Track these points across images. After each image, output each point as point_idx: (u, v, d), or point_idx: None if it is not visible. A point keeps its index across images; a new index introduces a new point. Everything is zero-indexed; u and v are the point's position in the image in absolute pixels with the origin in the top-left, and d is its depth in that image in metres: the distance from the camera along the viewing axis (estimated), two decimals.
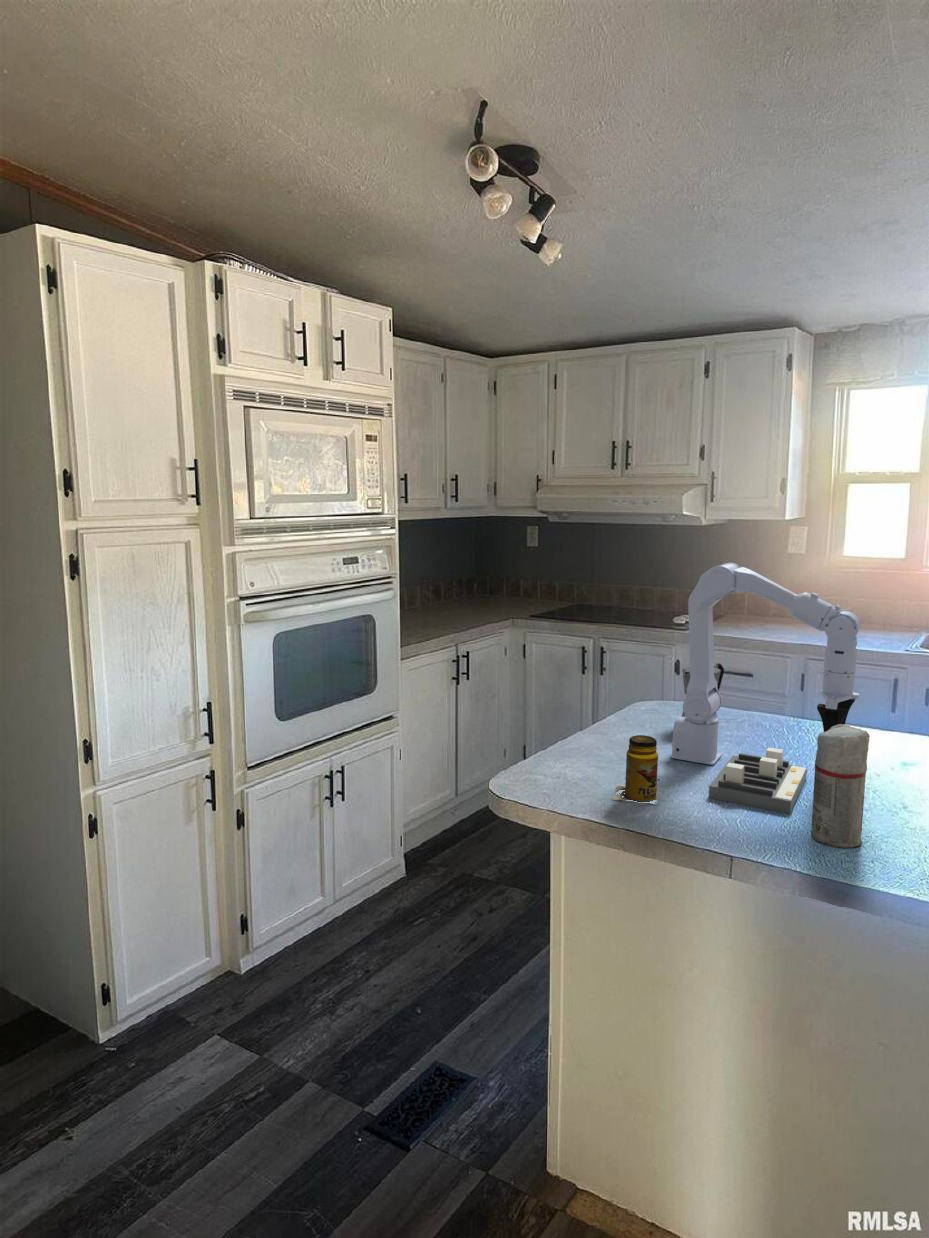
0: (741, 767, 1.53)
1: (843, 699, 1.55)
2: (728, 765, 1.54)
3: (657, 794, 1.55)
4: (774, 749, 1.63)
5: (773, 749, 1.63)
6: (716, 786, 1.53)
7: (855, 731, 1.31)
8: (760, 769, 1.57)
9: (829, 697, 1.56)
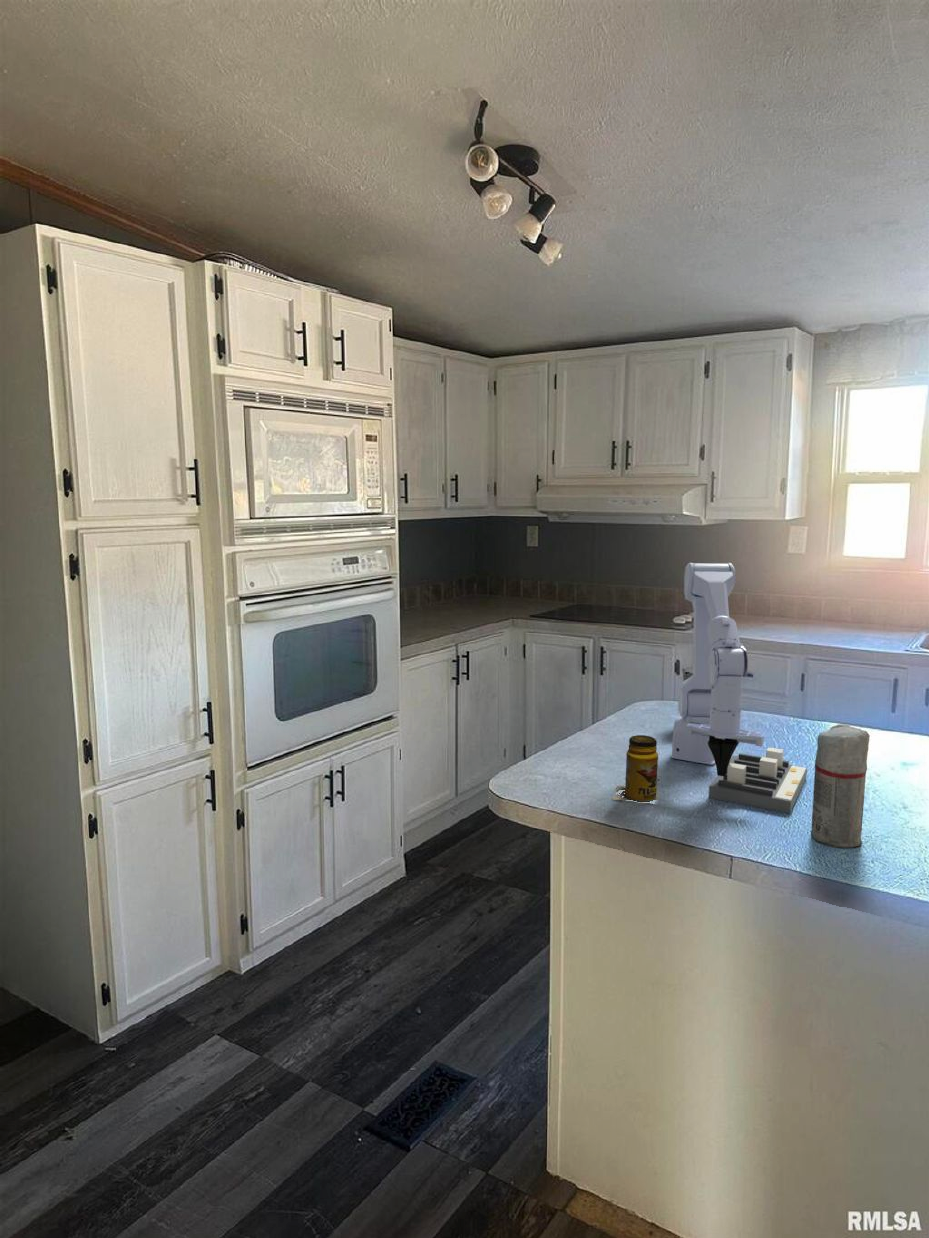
0: (743, 767, 1.53)
1: (700, 731, 1.55)
2: (730, 766, 1.53)
3: (657, 794, 1.55)
4: (774, 749, 1.63)
5: (773, 749, 1.63)
6: (716, 786, 1.53)
7: (855, 731, 1.31)
8: (760, 769, 1.57)
9: (700, 726, 1.57)
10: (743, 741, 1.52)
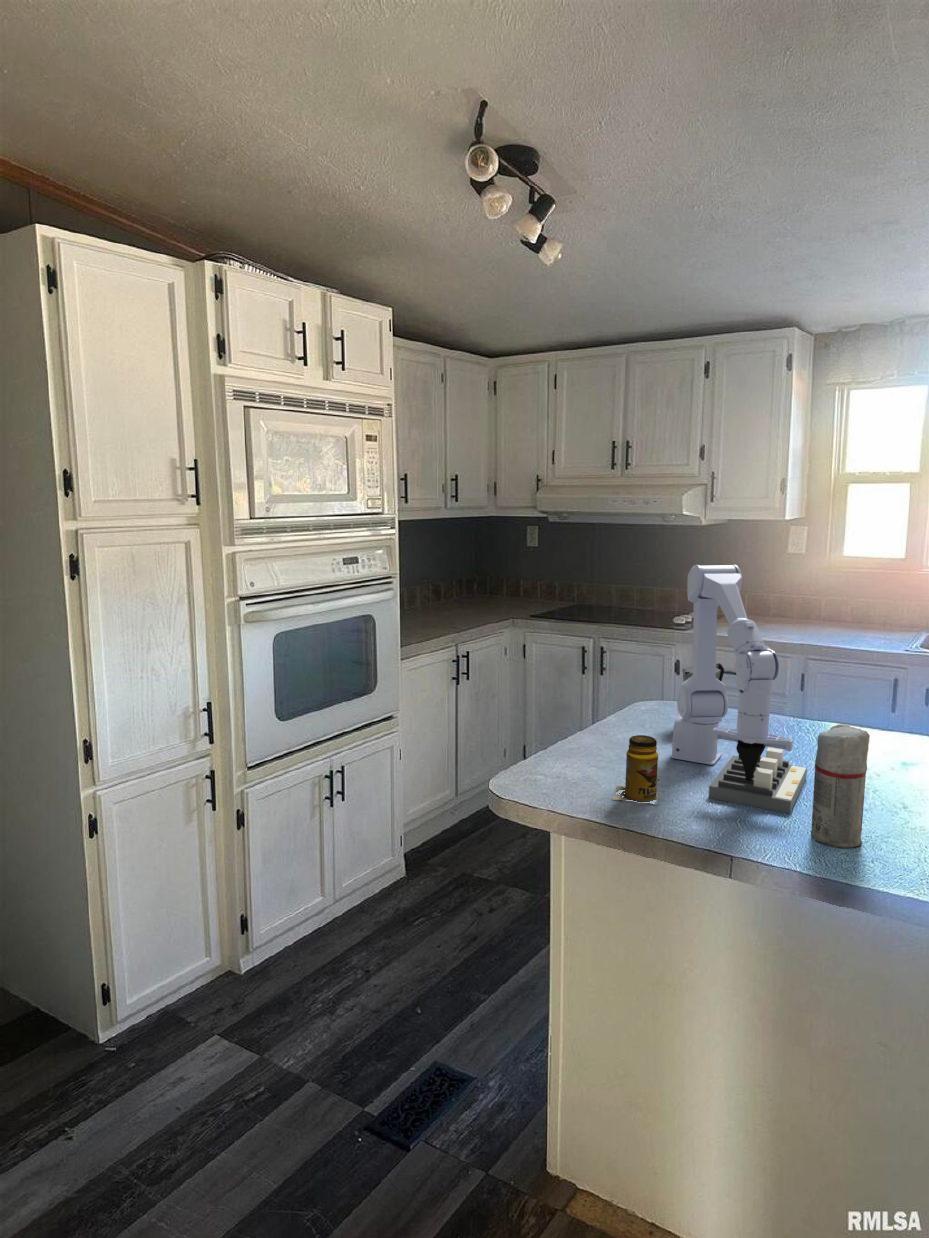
0: (770, 772, 1.50)
1: (728, 735, 1.52)
2: (756, 770, 1.51)
3: (657, 794, 1.55)
4: (774, 749, 1.63)
5: (773, 749, 1.63)
6: (716, 786, 1.53)
7: (855, 731, 1.31)
8: None
9: None
10: (772, 746, 1.49)
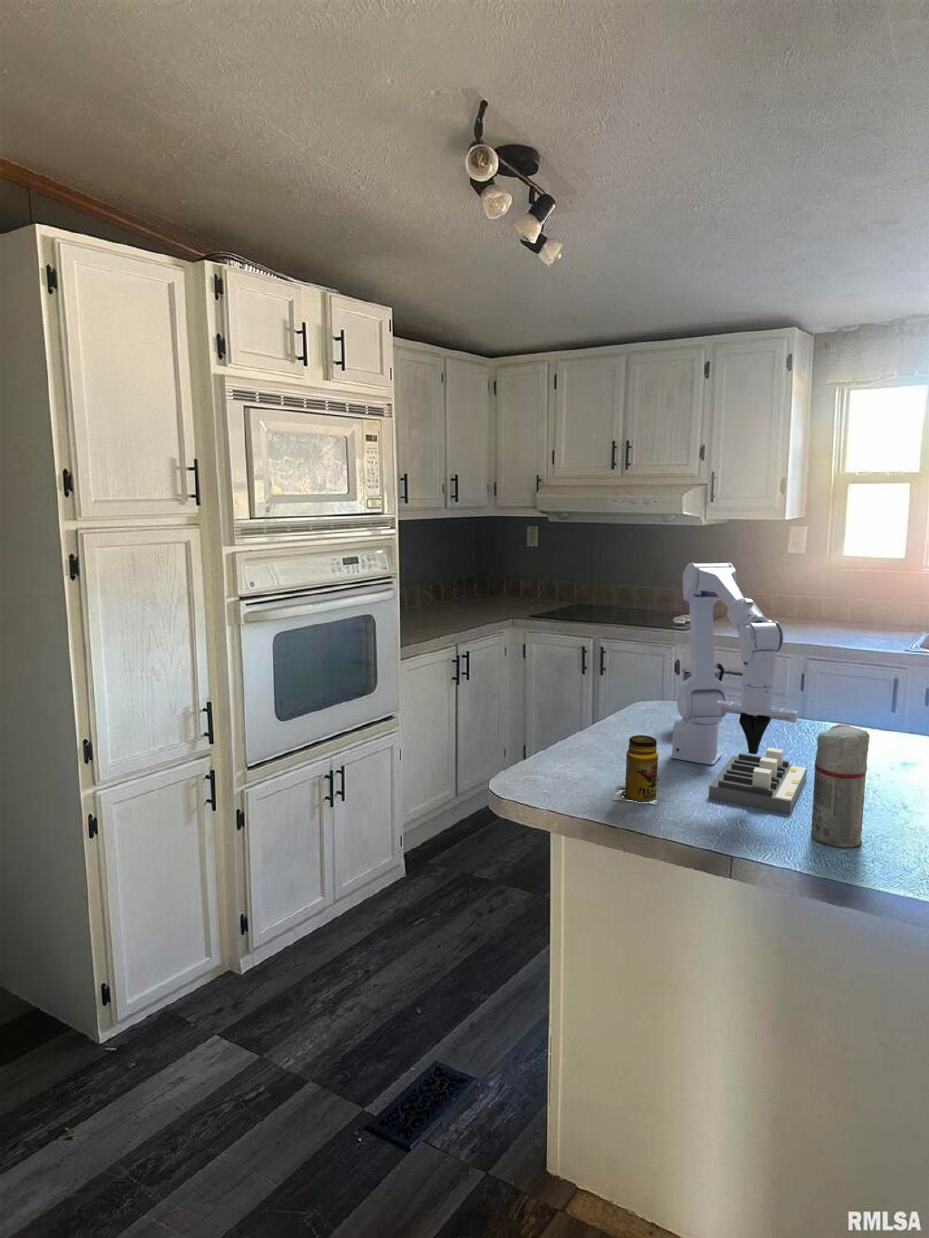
0: (768, 772, 1.50)
1: (731, 708, 1.51)
2: (755, 770, 1.51)
3: (657, 794, 1.55)
4: (774, 749, 1.63)
5: (773, 749, 1.63)
6: (716, 786, 1.53)
7: (855, 731, 1.31)
8: None
9: None
10: (776, 718, 1.48)
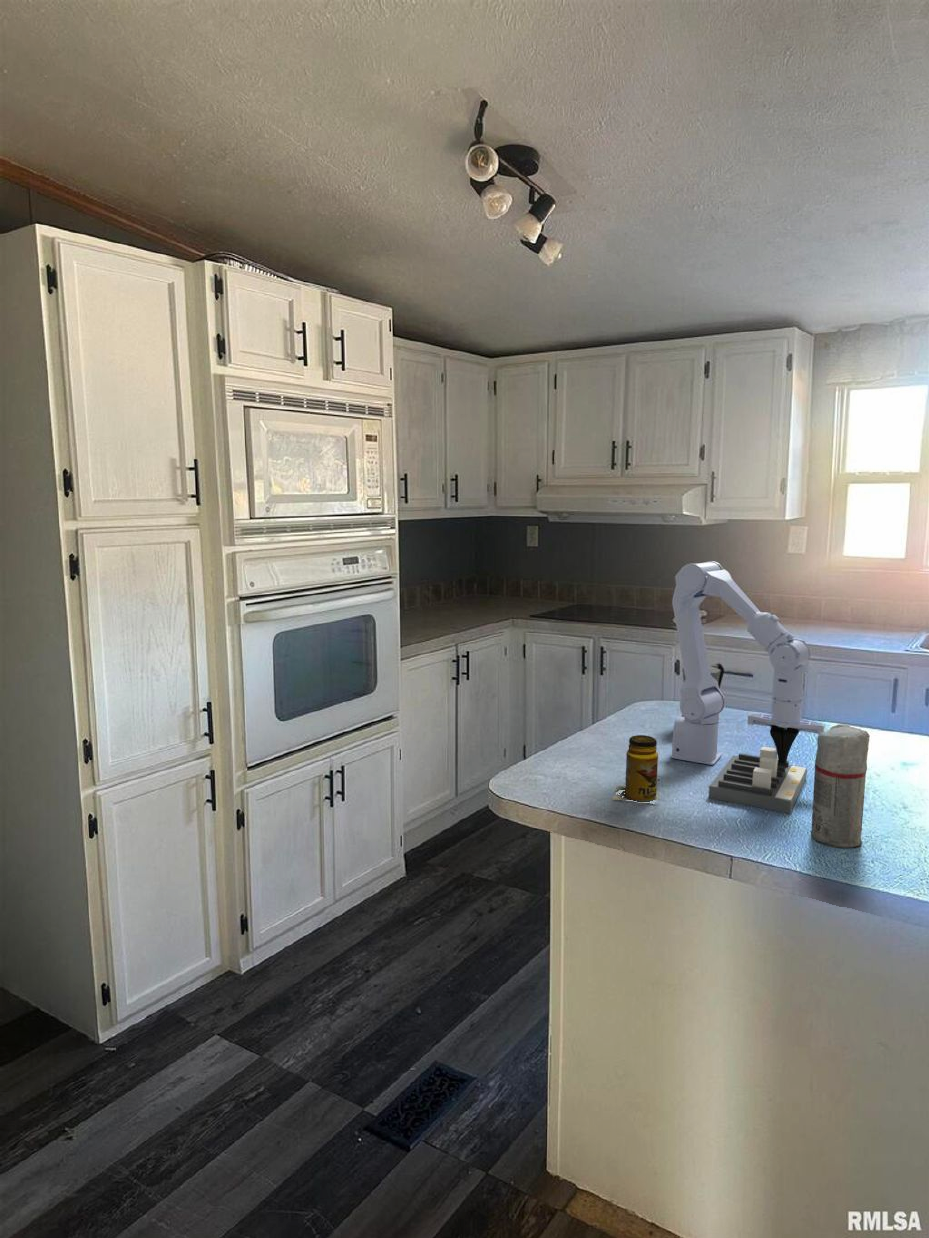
0: (768, 772, 1.50)
1: (762, 720, 1.62)
2: (755, 770, 1.51)
3: (657, 794, 1.55)
4: (768, 748, 1.64)
5: (767, 748, 1.64)
6: (716, 786, 1.53)
7: (855, 731, 1.31)
8: None
9: (761, 716, 1.64)
10: (804, 730, 1.59)
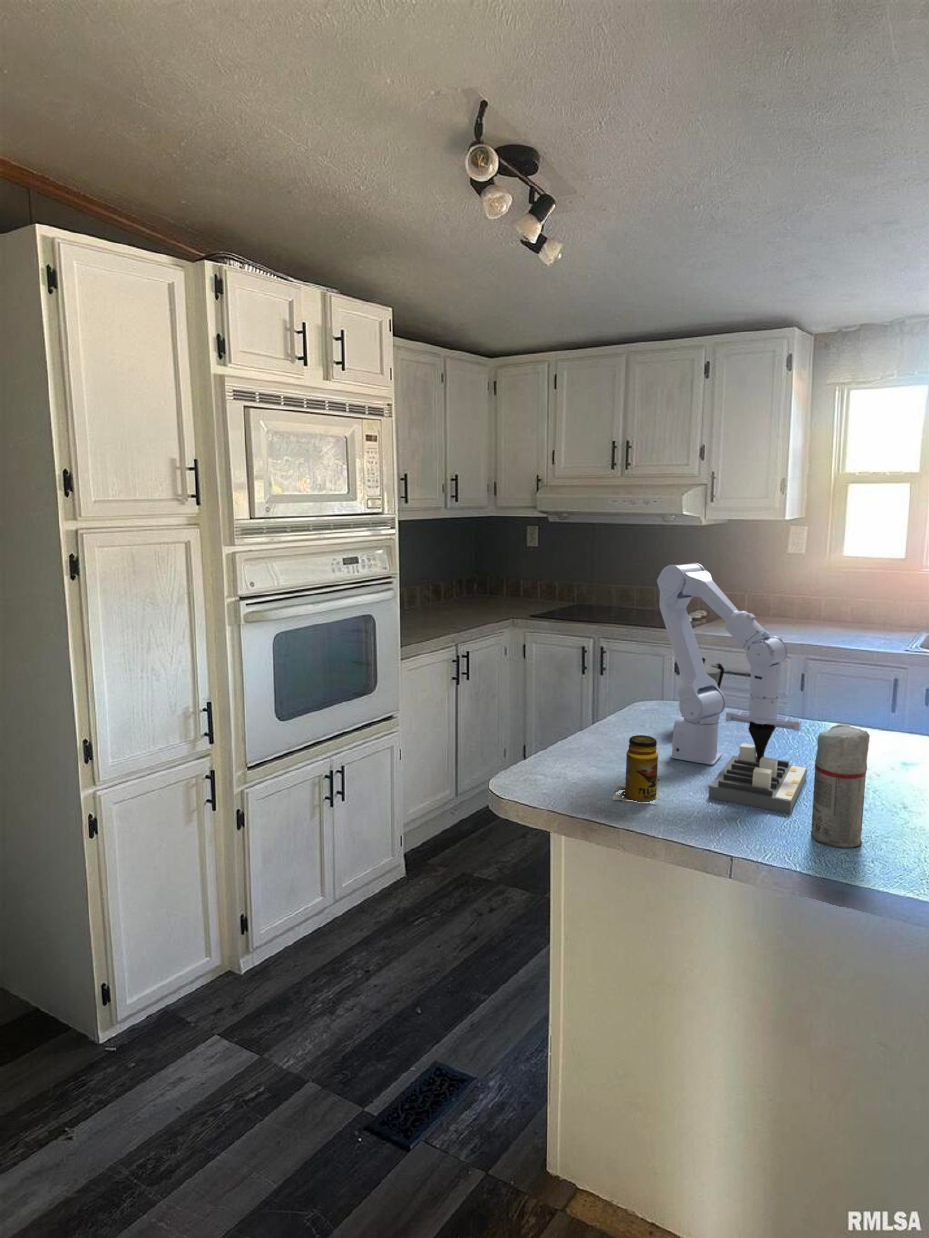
0: (768, 772, 1.50)
1: (740, 717, 1.64)
2: (755, 770, 1.51)
3: (657, 794, 1.55)
4: (747, 745, 1.66)
5: (747, 745, 1.66)
6: (716, 786, 1.53)
7: (855, 731, 1.31)
8: None
9: (739, 713, 1.67)
10: (781, 726, 1.61)
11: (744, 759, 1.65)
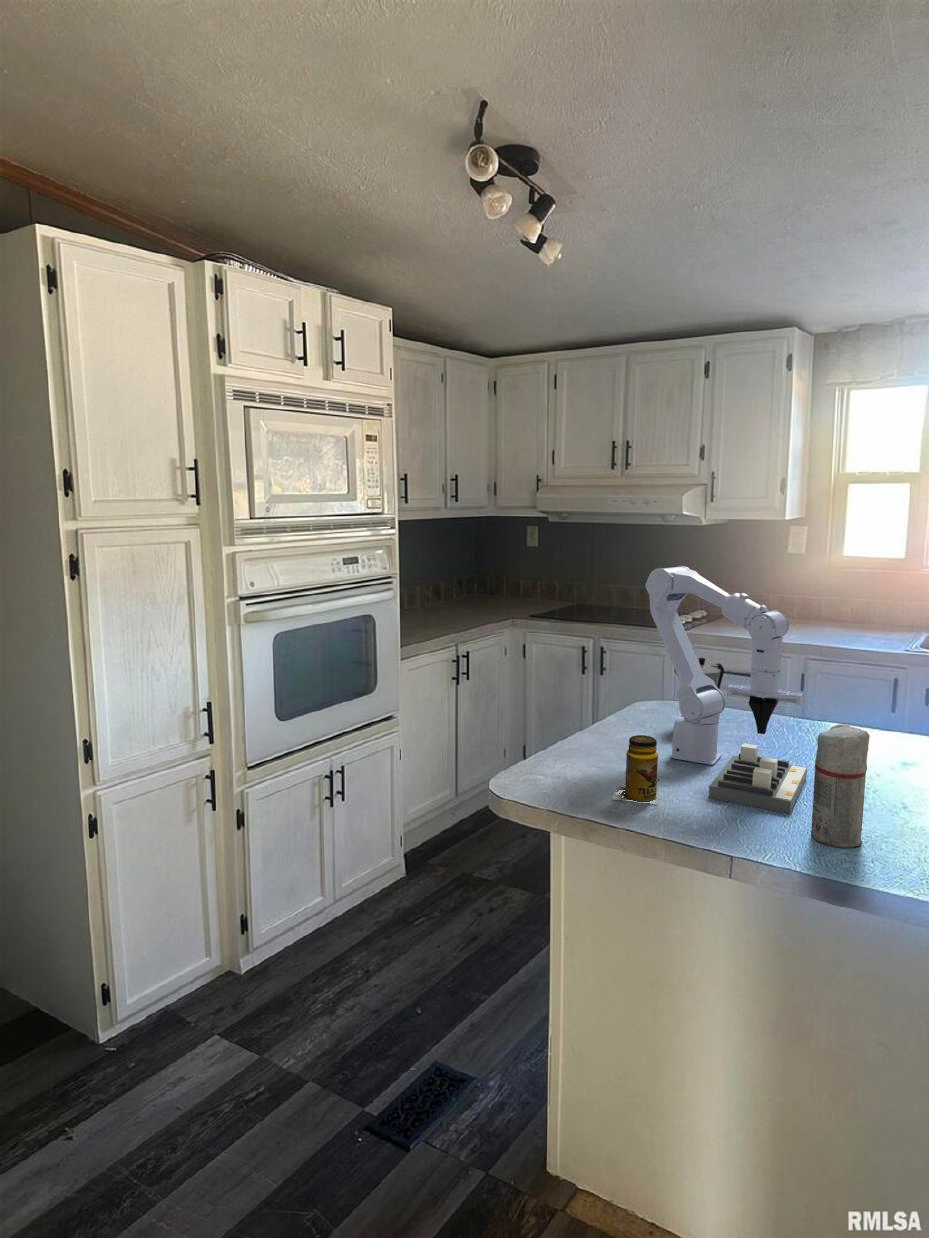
0: (768, 772, 1.50)
1: (741, 691, 1.64)
2: (755, 770, 1.51)
3: (657, 794, 1.55)
4: (749, 745, 1.66)
5: (748, 745, 1.66)
6: (716, 786, 1.53)
7: (855, 731, 1.31)
8: None
9: None
10: (782, 700, 1.61)
11: (745, 759, 1.65)
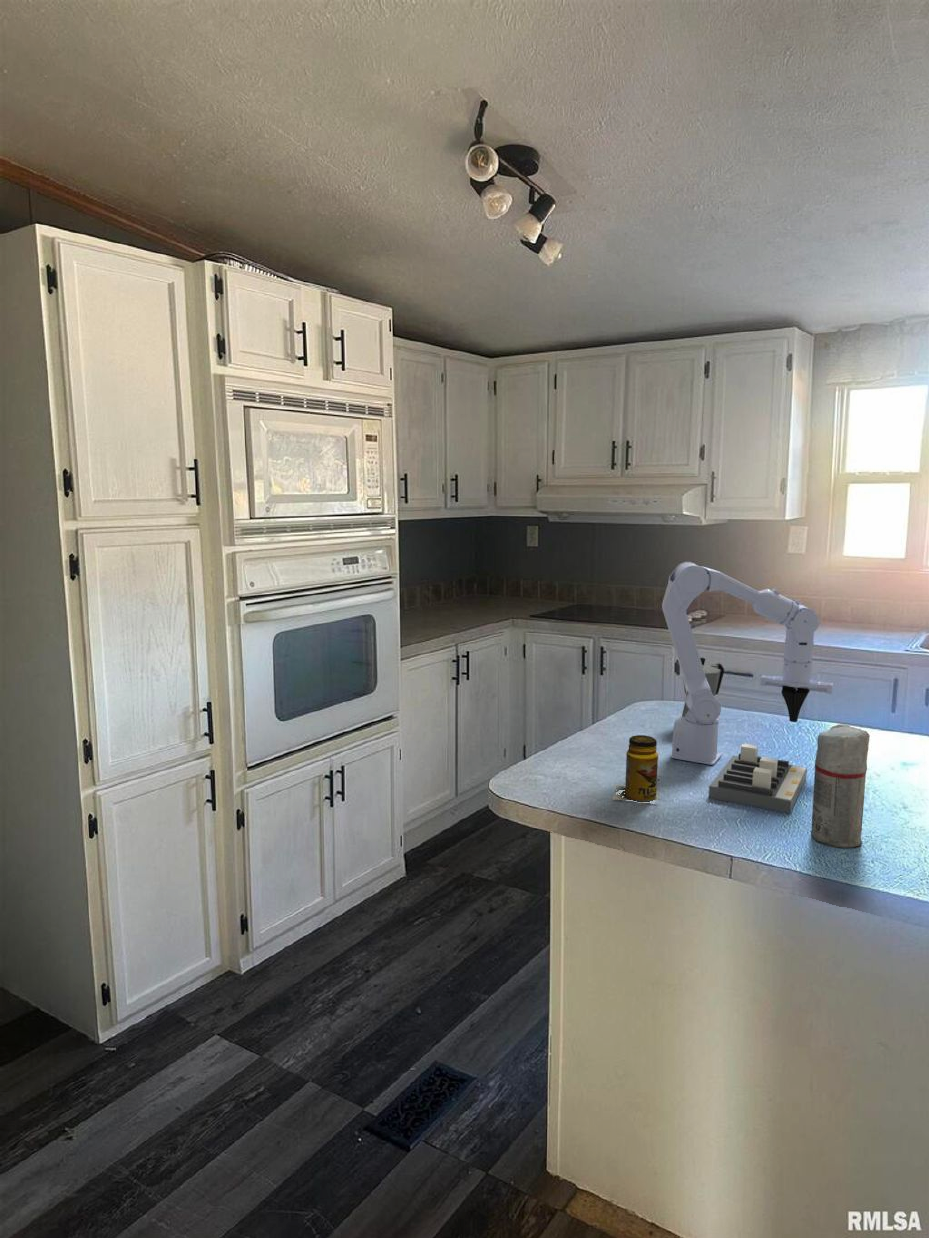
0: (768, 772, 1.50)
1: (774, 681, 1.72)
2: (755, 770, 1.51)
3: (657, 794, 1.55)
4: (749, 745, 1.66)
5: (748, 745, 1.66)
6: (716, 786, 1.53)
7: (855, 731, 1.31)
8: None
9: None
10: (814, 690, 1.69)
11: (745, 759, 1.65)
